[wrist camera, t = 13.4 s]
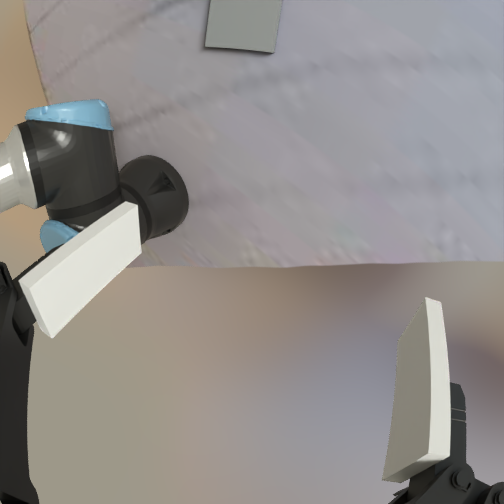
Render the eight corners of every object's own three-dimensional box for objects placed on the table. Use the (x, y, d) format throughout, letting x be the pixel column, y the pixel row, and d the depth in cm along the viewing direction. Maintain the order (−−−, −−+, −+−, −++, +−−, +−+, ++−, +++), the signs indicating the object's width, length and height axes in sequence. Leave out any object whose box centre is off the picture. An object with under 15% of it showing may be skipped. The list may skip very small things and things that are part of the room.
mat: (208, 46, 38) (204, 46, 37) (216, -13, 32) (213, -15, 31) (274, 53, 36) (272, 52, 35) (284, -12, 30) (282, -13, 29)
